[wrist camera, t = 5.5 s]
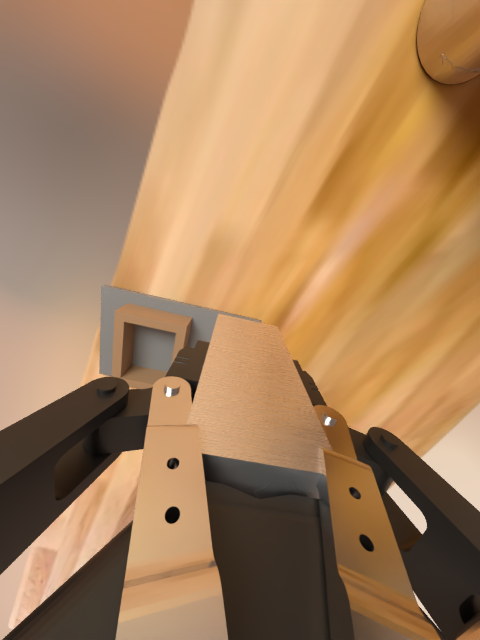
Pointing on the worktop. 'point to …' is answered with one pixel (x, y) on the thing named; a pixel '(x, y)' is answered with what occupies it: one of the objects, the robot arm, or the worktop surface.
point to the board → (148, 334)
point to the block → (256, 414)
